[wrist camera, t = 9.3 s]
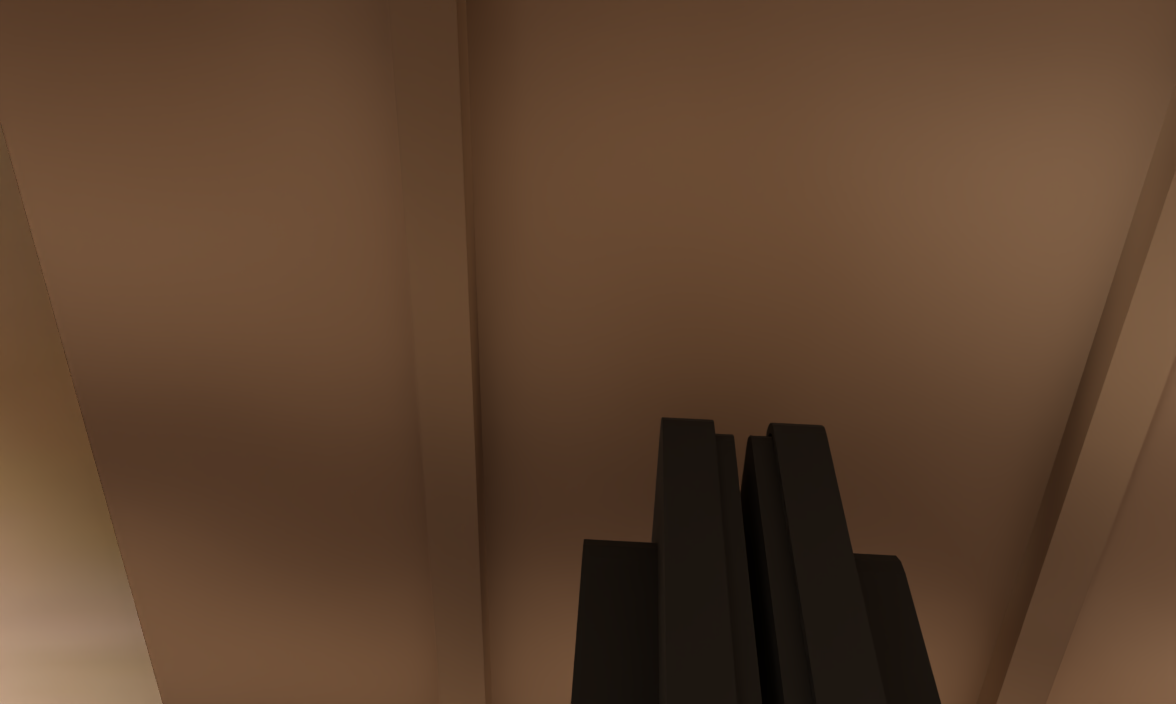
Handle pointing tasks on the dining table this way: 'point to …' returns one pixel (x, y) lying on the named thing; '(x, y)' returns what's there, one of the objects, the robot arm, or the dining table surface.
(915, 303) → the brown wooden divided tray
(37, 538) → the dining table surface
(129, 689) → the dining table surface
